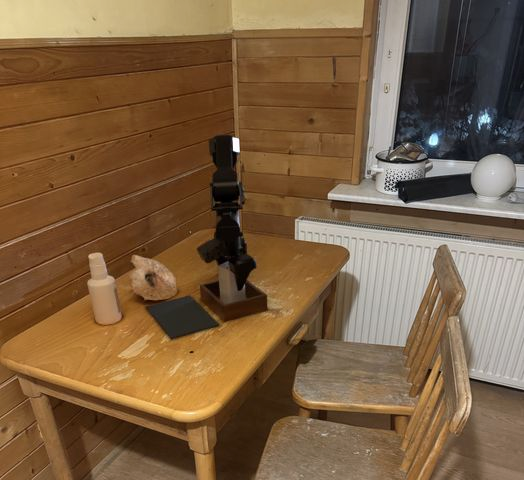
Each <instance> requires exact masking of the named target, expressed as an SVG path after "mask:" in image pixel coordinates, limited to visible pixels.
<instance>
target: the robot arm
mask: <svg viewBox="0 0 524 480" xmlns="http://www.w3.org/2000/svg"><path fill="white" fill-rule="evenodd" d="M240 151H241V150H240V138H237V137H234V136H233V135H231V134H216V135H213V137H212V138H210V139H208V153H209V157H212V163H213V164H214V167H215V168H216V170H215V171H214V172H213V173H212V175H211V179H212V180H211V182H209V196H210V197H209V198H210V211H211V212H215V218H216V219H215V231H214V232H213V238H211V239H209V240H207V241H206V242H204V243H201V244H200V245H199V246H198V247H197V248H196V251H197V253H198V255H199V257H200V260H202V261H203V262H204V263H205V264H210V263H212V262H216V264H217V267H218V266H219V265H221V264H223V263H226V262H228V263H229V267H230V269H229V270H230V271H231V272H232V273H234V276H235V281H236V286H237V290H238V291H241V290H242V289H243V287H244V284H245V282H246V280H248V279H249V276H250V274H251V273H252V271H254V270H255V269H257V265H258V264H257V260H256V259H255V258H254V257H253V256H251V255H250V254H248V243H247V241H246V239H245V237H244V232H242V230H241V225H240V213H239V212H240V210H243V205H245V203H246V202H245V187H244V185H243V183H242V181H239V177H238V176H239V175H238V172H237V171H236V170H234V169H235V167H236V165H237V162H238V156H239V155H241V153H240Z"/></svg>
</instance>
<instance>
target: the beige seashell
mask: <svg viewBox="0 0 524 480" xmlns="http://www.w3.org/2000/svg"><path fill="white" fill-rule="evenodd" d="M130 263H132V264H133V266H134V267H135V269H134V270H132V271H131V272H130V273H129V275H128V276H129V279H130V280H131V283H130V287H131V288H132V290H133V292H134V294H136V295H137V296H141V297H142V298H143V300H142V303H143V302H146V301H148V300H150V301H159V300H168V299H169V300H170V299H171V298H172V297H174V296H176V294H178V286H177V282H176V281H177V280H176V279H177V278H176V276H175V275H174V274H173V272H172V271H170V269H168V268H167V267H166V266H165V265H164V263H161V262H159V260H156V259H152V258H149V257H143V256H141V255H136V254H133V255H132V256H131V260H130Z"/></svg>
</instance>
